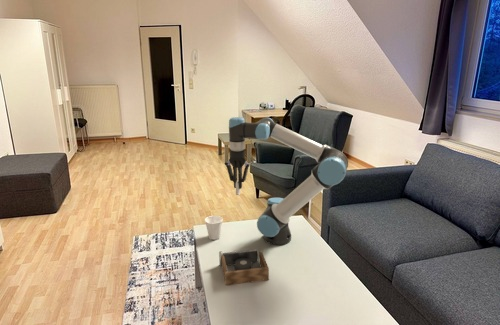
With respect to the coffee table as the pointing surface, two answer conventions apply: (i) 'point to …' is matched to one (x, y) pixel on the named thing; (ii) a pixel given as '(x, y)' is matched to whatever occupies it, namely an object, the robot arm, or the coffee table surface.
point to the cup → (214, 226)
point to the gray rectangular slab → (238, 256)
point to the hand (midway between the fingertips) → (238, 194)
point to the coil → (243, 264)
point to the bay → (246, 273)
